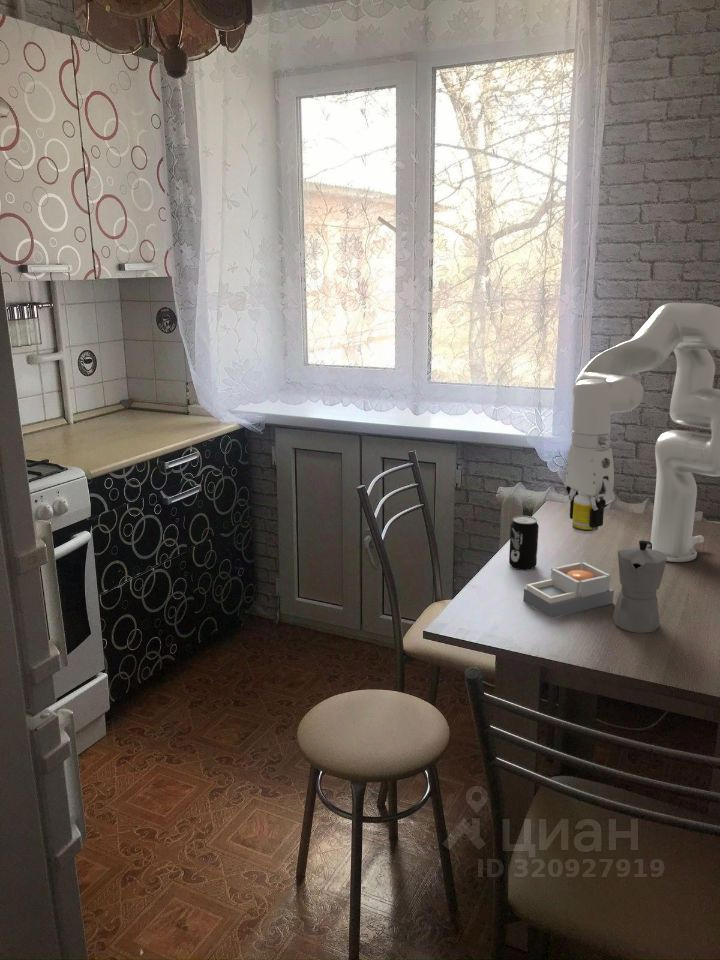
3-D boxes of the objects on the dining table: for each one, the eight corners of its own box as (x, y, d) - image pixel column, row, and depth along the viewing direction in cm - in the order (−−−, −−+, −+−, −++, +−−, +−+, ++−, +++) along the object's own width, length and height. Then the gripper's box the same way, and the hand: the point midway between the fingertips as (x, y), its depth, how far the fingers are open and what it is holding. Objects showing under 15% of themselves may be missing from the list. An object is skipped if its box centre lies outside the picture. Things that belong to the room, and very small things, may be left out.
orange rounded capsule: (580, 589, 175) (581, 568, 173) (597, 599, 170) (599, 577, 168) (560, 594, 172) (561, 572, 171) (577, 604, 167) (579, 581, 166)
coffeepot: (654, 641, 152) (663, 555, 147) (605, 631, 156) (612, 547, 152) (666, 611, 165) (674, 531, 160) (620, 602, 169) (627, 524, 165)
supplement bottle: (595, 536, 164) (598, 491, 161) (569, 532, 166) (571, 488, 163) (600, 527, 168) (603, 484, 166) (575, 524, 171) (577, 481, 168)
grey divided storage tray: (582, 587, 178) (584, 560, 176) (612, 603, 169) (615, 575, 167) (523, 600, 171) (524, 573, 169) (551, 618, 162) (553, 589, 161)
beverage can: (536, 571, 187) (539, 524, 183) (508, 570, 188) (510, 522, 185) (536, 561, 193) (538, 515, 190) (509, 560, 194) (511, 514, 191)
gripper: (634, 446, 156) (628, 531, 161) (577, 429, 170) (573, 508, 176) (605, 451, 153) (600, 537, 158) (549, 433, 167) (546, 513, 173)
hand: (586, 521), depth 167 cm, fingers closed on supplement bottle, 5 cm apart
